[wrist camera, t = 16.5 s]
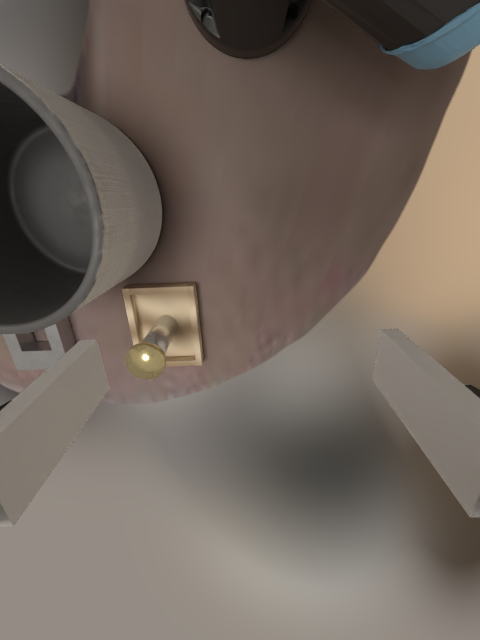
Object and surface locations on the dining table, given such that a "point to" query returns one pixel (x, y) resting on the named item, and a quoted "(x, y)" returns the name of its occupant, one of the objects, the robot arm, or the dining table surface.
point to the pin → (152, 349)
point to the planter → (66, 206)
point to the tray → (173, 301)
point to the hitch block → (41, 346)
